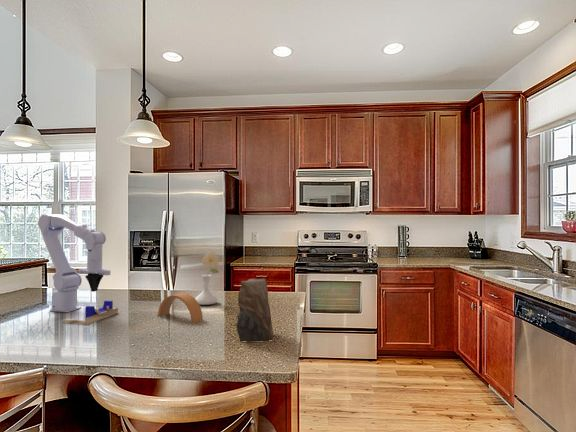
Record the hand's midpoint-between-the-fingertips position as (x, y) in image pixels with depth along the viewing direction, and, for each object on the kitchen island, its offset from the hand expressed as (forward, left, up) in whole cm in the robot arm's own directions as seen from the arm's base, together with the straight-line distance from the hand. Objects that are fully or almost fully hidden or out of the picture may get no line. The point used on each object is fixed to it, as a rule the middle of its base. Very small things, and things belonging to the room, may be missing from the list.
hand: (94, 291), depth 157 cm
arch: (+40, +2, -10) cm, 41 cm away
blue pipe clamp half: (+7, -6, -10) cm, 13 cm away
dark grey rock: (+78, -15, -10) cm, 80 cm away
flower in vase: (+40, +27, -10) cm, 50 cm away
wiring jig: (+6, -7, -9) cm, 13 cm away
